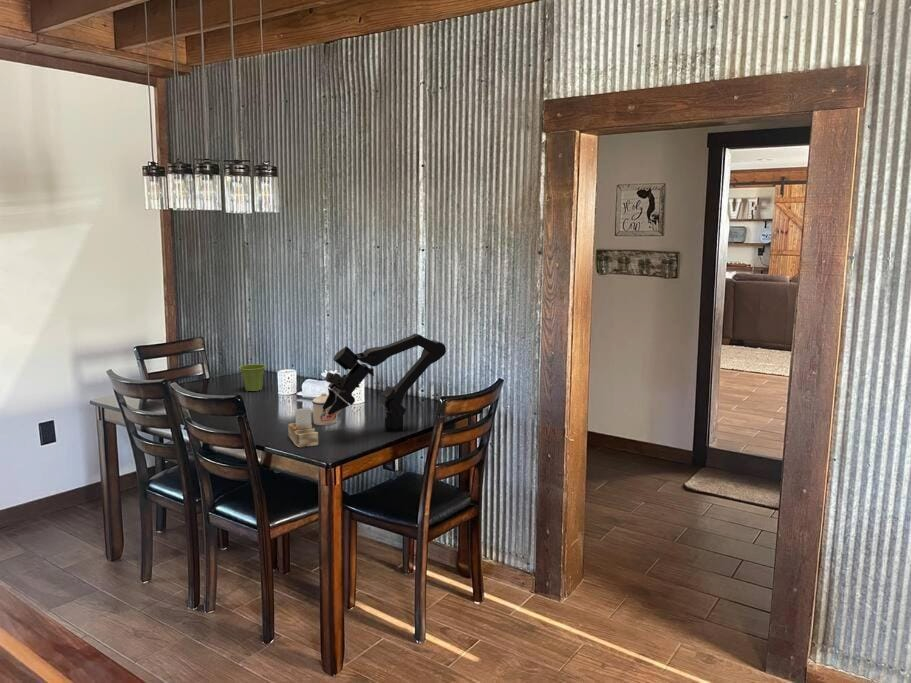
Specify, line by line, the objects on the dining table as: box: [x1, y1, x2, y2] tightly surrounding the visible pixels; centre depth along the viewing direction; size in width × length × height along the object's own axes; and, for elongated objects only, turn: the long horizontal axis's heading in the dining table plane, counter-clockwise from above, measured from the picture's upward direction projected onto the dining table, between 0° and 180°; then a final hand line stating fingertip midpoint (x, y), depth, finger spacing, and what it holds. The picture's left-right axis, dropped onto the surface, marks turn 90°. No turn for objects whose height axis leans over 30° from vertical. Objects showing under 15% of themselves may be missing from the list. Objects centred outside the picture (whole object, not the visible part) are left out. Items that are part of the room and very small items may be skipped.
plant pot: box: [238, 363, 267, 392], centre depth 333 cm, size 12×12×11 cm
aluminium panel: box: [294, 407, 313, 430], centre depth 255 cm, size 5×2×10 cm, turn 114°
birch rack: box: [287, 422, 319, 448], centre depth 256 cm, size 7×15×5 cm, turn 24°
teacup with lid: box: [311, 392, 342, 426], centre depth 279 cm, size 12×9×12 cm
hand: (325, 411), depth 258 cm, fingers open, 9 cm apart
